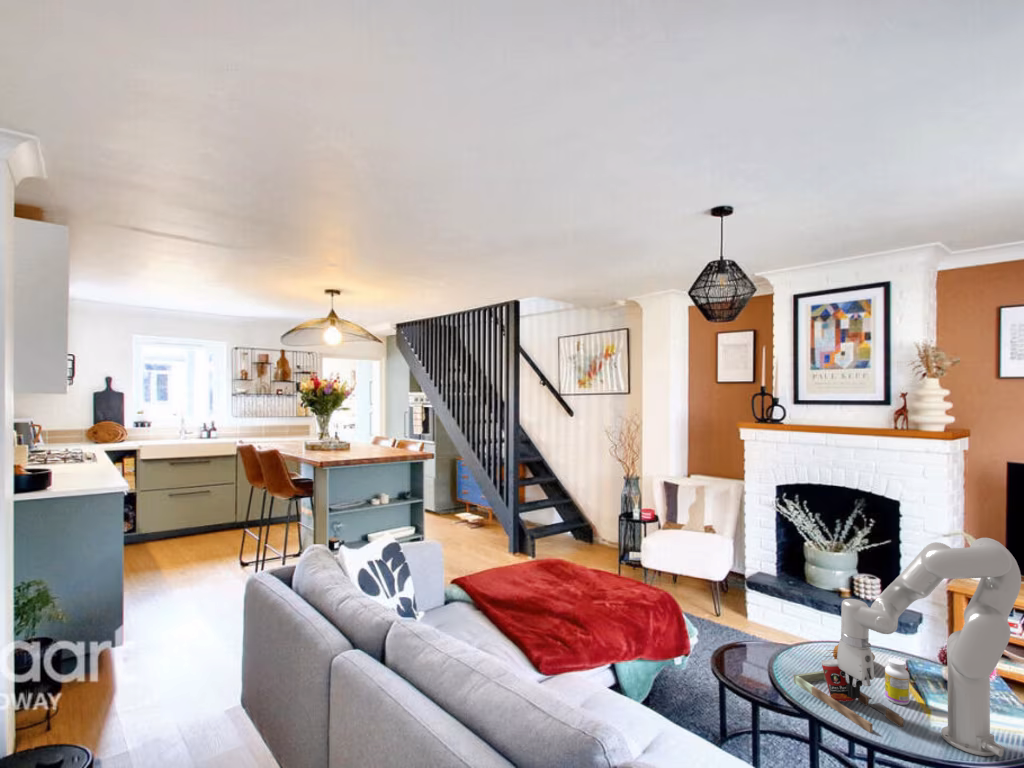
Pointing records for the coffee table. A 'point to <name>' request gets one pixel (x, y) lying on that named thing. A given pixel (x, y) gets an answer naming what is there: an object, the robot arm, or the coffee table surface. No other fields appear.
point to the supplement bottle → (897, 682)
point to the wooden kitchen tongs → (815, 676)
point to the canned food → (836, 681)
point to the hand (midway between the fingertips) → (853, 696)
